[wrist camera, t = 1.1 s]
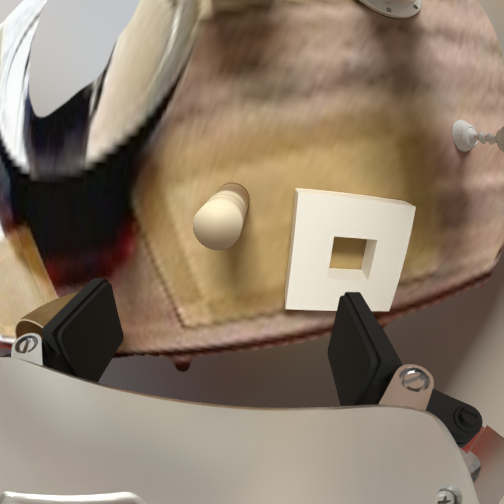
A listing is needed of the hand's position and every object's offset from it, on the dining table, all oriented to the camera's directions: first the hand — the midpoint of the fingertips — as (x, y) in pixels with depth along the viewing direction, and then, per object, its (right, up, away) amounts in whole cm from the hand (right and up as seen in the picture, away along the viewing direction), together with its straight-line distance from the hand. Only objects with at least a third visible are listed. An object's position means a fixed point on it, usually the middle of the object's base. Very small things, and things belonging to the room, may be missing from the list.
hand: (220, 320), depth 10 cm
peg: (-1, +9, +25) cm, 27 cm away
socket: (+14, +3, +27) cm, 31 cm away
